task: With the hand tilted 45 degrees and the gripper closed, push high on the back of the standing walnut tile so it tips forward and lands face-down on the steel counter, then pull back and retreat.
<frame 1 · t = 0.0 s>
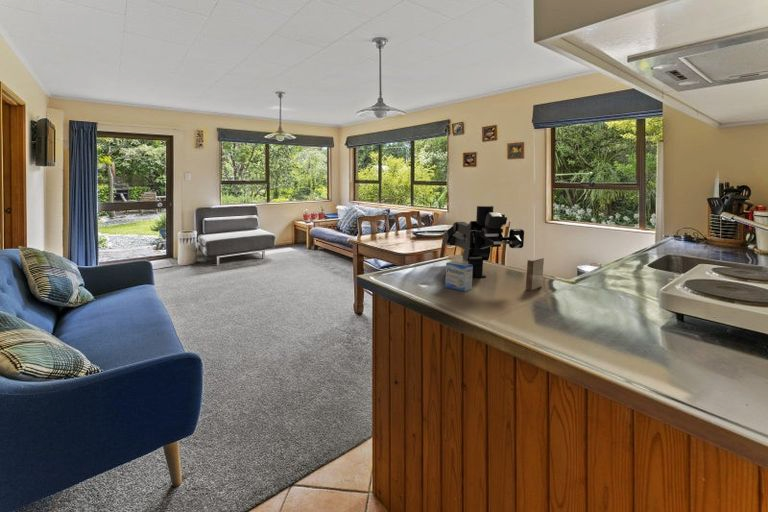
hand: (507, 242, 127), 17 cm above the counter, tool horizontal, fingers open, 9 cm apart
walnut tile: (533, 288, 137), on the counter
medicine box: (458, 289, 138), on the counter
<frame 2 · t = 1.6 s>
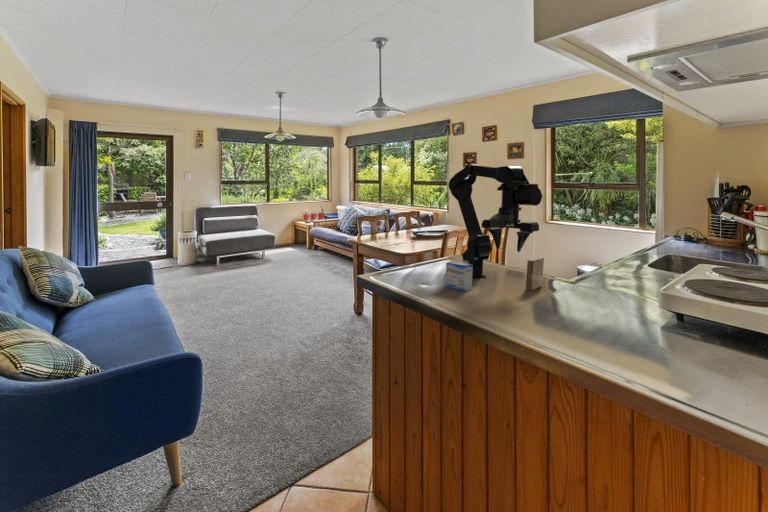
hand: (508, 250, 140), 12 cm above the counter, tool pointing down, fingers open, 8 cm apart
nothing on the counter moved.
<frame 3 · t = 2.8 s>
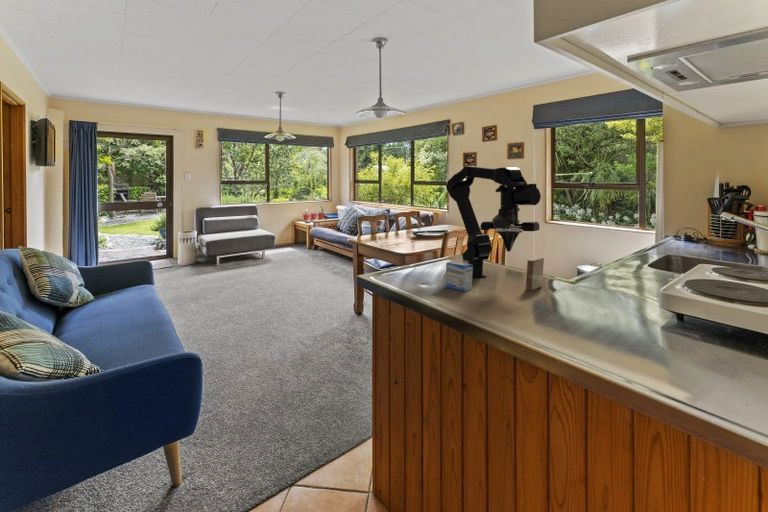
hand: (508, 251, 140), 12 cm above the counter, tool pointing down, fingers closed
nothing on the counter moved.
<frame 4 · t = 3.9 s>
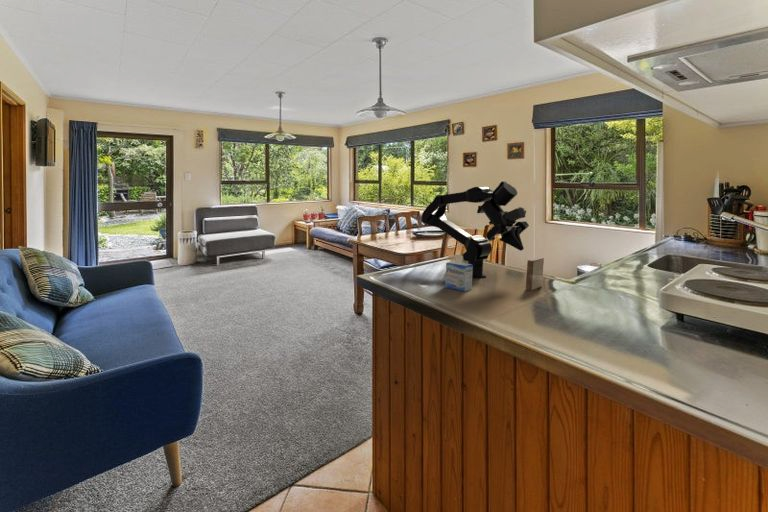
hand: (522, 249, 139), 12 cm above the counter, tool tilted 45°, fingers closed
nothing on the counter moved.
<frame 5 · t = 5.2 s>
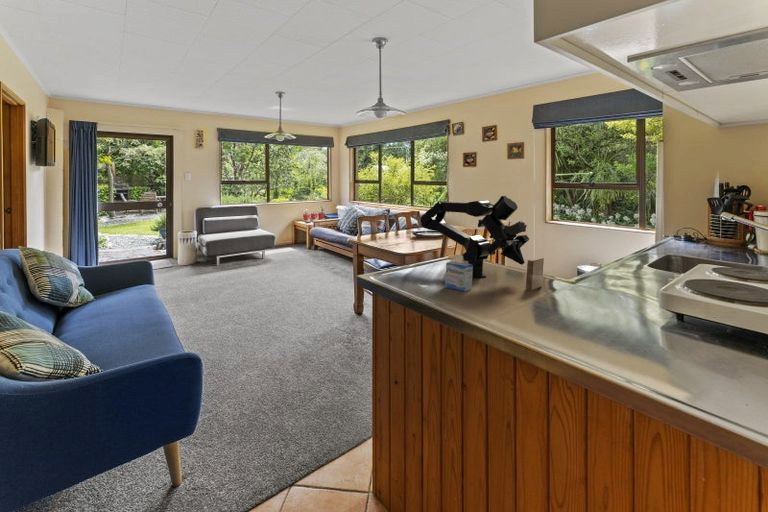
hand: (523, 263, 139), 8 cm above the counter, tool tilted 45°, fingers closed
nothing on the counter moved.
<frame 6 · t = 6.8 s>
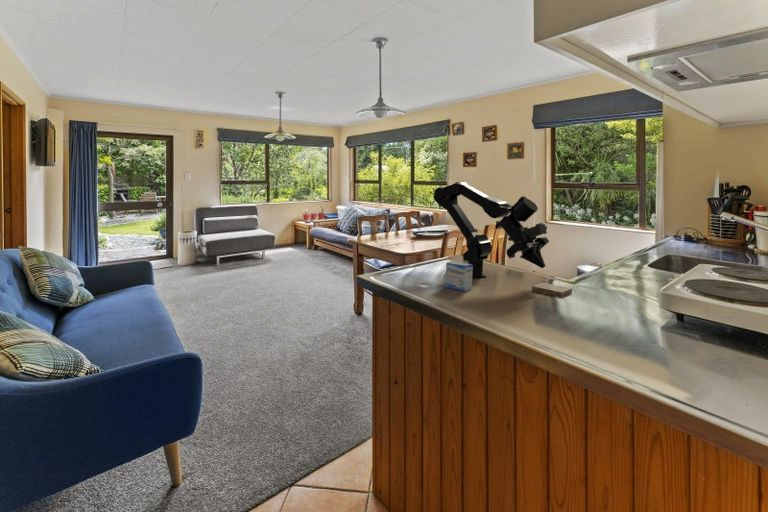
hand: (543, 267, 134), 8 cm above the counter, tool tilted 45°, fingers closed
walnut tile: (537, 287, 136), point 1 cm above the counter, tilted 90°
everything else where it was.
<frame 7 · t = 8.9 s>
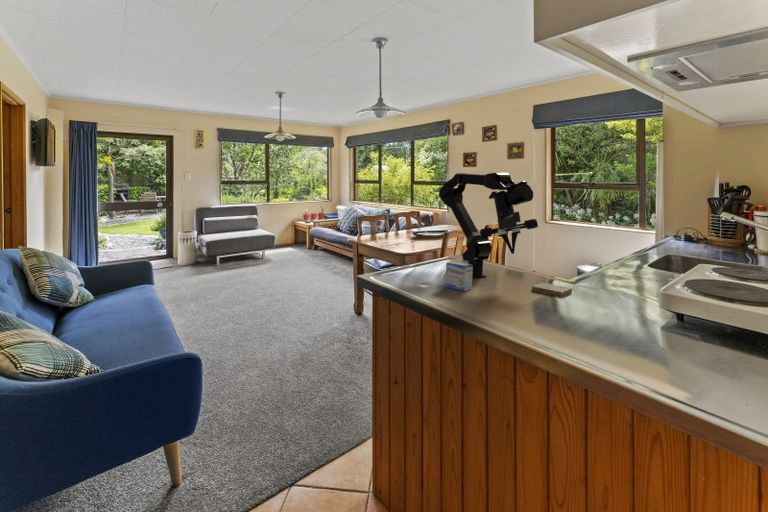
hand: (512, 253, 139), 11 cm above the counter, tool tilted 15°, fingers closed
nothing on the counter moved.
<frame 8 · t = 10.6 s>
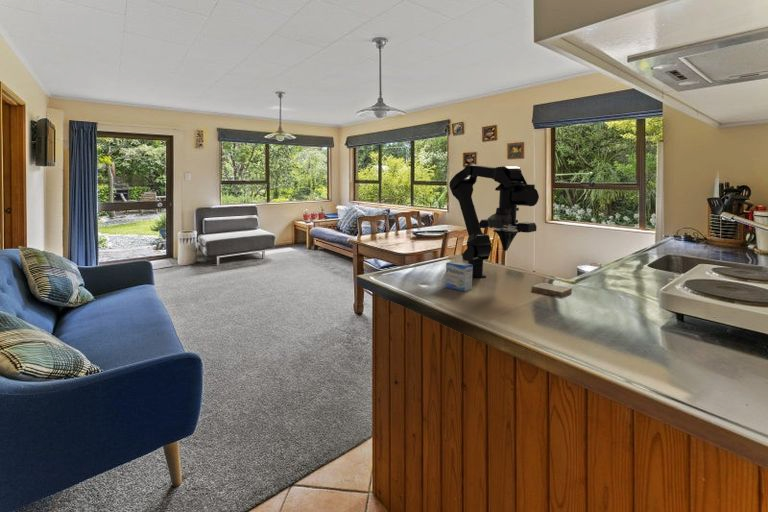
hand: (505, 250, 140), 12 cm above the counter, tool pointing down, fingers closed
nothing on the counter moved.
at the end: walnut tile tilted 90°; walnut tile inside the target area (1.2 cm from its centre), point 0.6 cm above the counter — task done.
